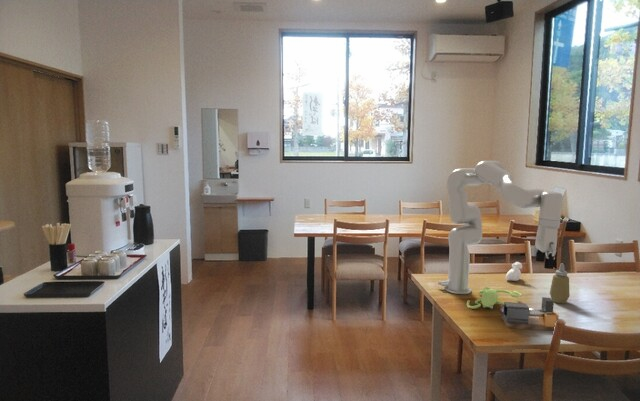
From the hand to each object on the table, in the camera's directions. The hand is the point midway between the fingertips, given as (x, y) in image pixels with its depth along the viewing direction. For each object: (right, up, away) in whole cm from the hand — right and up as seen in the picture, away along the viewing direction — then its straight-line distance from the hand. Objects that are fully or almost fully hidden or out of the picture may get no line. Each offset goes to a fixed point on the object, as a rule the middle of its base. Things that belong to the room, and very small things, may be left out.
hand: (544, 264), depth 169 cm
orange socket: (0, -23, -2) cm, 23 cm away
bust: (+14, -17, +57) cm, 61 cm away
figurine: (-11, -22, +22) cm, 33 cm away
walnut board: (-6, -24, -1) cm, 25 cm away
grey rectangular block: (-4, -20, -1) cm, 21 cm away
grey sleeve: (-12, -22, 0) cm, 25 cm away
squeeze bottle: (+20, -21, +26) cm, 39 cm away
